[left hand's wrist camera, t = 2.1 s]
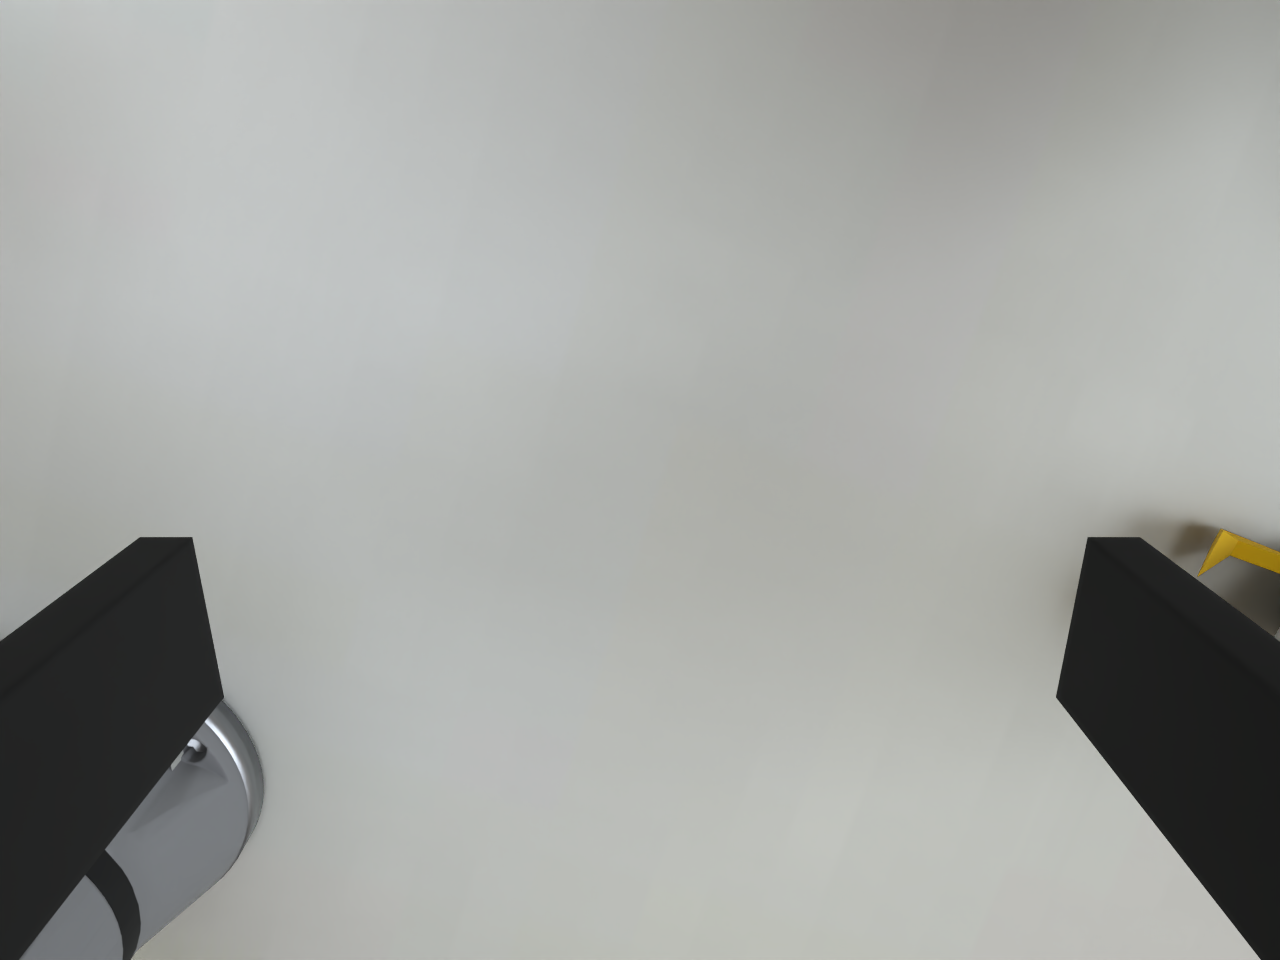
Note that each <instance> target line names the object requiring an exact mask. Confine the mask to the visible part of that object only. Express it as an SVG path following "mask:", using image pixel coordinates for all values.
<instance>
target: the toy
mask: <svg viewBox="0 0 1280 960" xmlns="http://www.w3.org/2000/svg"><path fill="white" fill-rule="evenodd" d="M1228 556H1233V557H1235V558H1238V559H1241V560H1244V561H1246V562H1249V563H1252V564H1255V565H1257V566H1260V567H1263V568H1266V569H1268V570H1271V571H1274V572H1276V573H1279V574H1280V552H1278V551H1276V550H1273V549H1271V548H1268V547H1266V546H1263V545H1261V544H1258V543H1256V542H1253V541H1251V540H1248V539H1246V538H1243V537H1241V536H1238V535H1236V534H1233V533H1231V532H1228V531H1226V530H1223V529H1220V531H1219V533H1218V534H1217V536H1216V538H1215V540H1214V541H1213V543H1212V545H1211V548H1210V550H1209V552H1208V554H1207V556H1206V559H1205V561H1204V563H1203V565H1202V567H1201V570H1200V572H1199V574H1198V576H1199V575H1201V574H1202V573H1204V572H1205V571H1207V570H1209V569H1210V568H1212V567H1213V566H1215V565H1216V564H1218V563H1219V562H1221V561H1222V560H1224V559H1225V558H1227V557H1228ZM1198 576H1197V577H1198ZM1274 638H1276V639H1277V640H1278V641H1280V627H1279V629H1278V631H1277V633H1276V635H1275V636H1274Z"/></svg>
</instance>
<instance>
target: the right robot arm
mask: <svg viewBox="0 0 1280 960" xmlns="http://www.w3.org/2000/svg"><path fill="white" fill-rule="evenodd" d="M262 802H263V776H262V769H261V766H260V762H259V758H258V755H257V753H256V750H255V747H254V745H253V743H252V741H251V739H250V737H249V735H248V733H247V732H246V730H245V729H244V727H243V726H242V724H241V722H240V721H239V720H238V719H237V717H236V716H235V715H234V713H233V712H232V711H231V710H230V709H229V708H228V707H227V705H226V704H225V703H224V702H223V701H222V700H221V702H220V703H219V704H218V706H217V707H216V708H215V709H214V711H213V712H212V713H211V714H210V716H209V717H208V718H207V720H206V721H205V722H204V723H203V725H202V726H201V727H200V729H199V730H198V731H197V732H196V734H195V735H194V736H193V738H192V739H191V740H190V741H189V743H188V744H187V745H186V746H185V748H184V749H183V750H182V752H181V753H180V754H179V755H178V757H177V758H176V759H175V761H174V762H173V763H172V764H171V766H170V767H169V768H168V770H167V771H166V772H165V773H164V775H163V776H162V777H161V778H160V780H159V781H158V782H157V784H156V785H155V786H154V787H153V789H152V790H151V791H150V793H149V794H148V795H147V796H146V798H145V799H144V800H143V802H142V803H141V804H140V805H139V807H138V808H137V809H136V811H135V812H134V813H133V814H132V816H131V817H130V818H129V819H128V821H127V822H126V823H125V825H124V826H123V827H122V828H121V830H120V831H119V832H118V834H117V835H116V836H115V837H114V839H113V840H112V841H111V843H110V844H109V845H108V846H107V848H106V849H105V850H104V851H103V853H102V854H101V855H100V857H99V858H98V859H97V860H96V862H95V863H94V864H93V866H92V867H91V868H90V869H89V871H88V872H87V873H86V875H85V876H84V877H83V878H82V880H81V881H80V882H79V884H78V885H77V886H76V887H75V889H74V890H73V891H72V892H71V894H70V895H69V896H68V898H67V899H66V900H65V901H64V903H63V904H62V905H61V907H60V908H59V909H58V910H57V912H56V913H55V914H54V916H53V917H52V918H51V919H50V921H49V922H48V923H47V924H46V926H45V927H44V928H43V930H42V931H41V932H40V933H39V935H38V936H37V937H36V939H35V940H34V941H33V942H32V944H31V945H30V946H29V948H28V949H27V950H26V951H25V953H24V954H23V955H22V957H21V958H20V959H19V960H131V958H132V957H133V955H134V954H135V952H136V951H137V950H138V949H139V948H140V947H142V946H143V945H144V944H145V943H146V942H147V941H149V940H150V939H151V938H152V937H153V936H154V935H156V934H157V933H158V932H159V931H160V930H161V929H163V928H164V927H165V926H166V925H167V924H169V923H170V922H171V921H172V920H173V919H174V918H176V917H177V916H178V915H179V914H180V913H181V912H183V911H184V910H185V909H186V908H187V907H189V906H190V905H191V904H192V903H193V902H194V901H196V900H197V899H198V898H199V897H200V896H201V895H202V894H204V893H205V892H206V891H207V890H208V889H210V888H211V887H212V886H213V885H214V884H215V883H216V882H218V881H219V880H220V879H221V878H222V877H223V876H224V875H225V874H226V873H227V872H228V871H229V870H230V868H231V867H232V866H233V864H234V863H235V861H236V860H237V858H238V857H239V855H240V853H241V851H242V850H243V848H244V846H245V844H246V843H247V841H248V839H249V837H250V836H251V834H252V832H253V830H254V828H255V826H256V824H257V821H258V818H259V816H260V812H261V808H262Z"/></svg>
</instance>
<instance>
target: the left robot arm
mask: <svg viewBox="0 0 1280 960" xmlns="http://www.w3.org/2000/svg"><path fill="white" fill-rule="evenodd" d="M223 698H224V695H223V690H222V685H221V680H220V675H219V669H218V664H217V659H216V654H215V649H214V644H213V639H212V634H211V629H210V624H209V619H208V614H207V609H206V604H205V599H204V594H203V589H202V584H201V579H200V574H199V569H198V564H197V559H196V554H195V549H194V544H193V539H192V537H140V538H138V539H137V540H136V541H134V542H133V543H132V544H130V545H129V546H128V547H126V548H125V549H124V550H122V551H121V552H120V553H118V554H117V555H116V556H114V557H113V558H112V559H110V560H109V561H108V562H106V563H105V564H104V565H102V566H101V567H99V568H98V569H97V570H95V571H94V572H93V573H91V574H90V575H89V576H87V577H86V578H85V579H83V580H82V581H81V582H79V583H78V584H77V585H75V586H74V587H73V588H71V589H70V590H69V591H67V592H66V593H65V594H63V595H62V596H61V597H59V598H58V599H57V600H55V601H54V602H53V603H51V604H50V605H49V606H47V607H46V608H45V609H43V610H42V611H40V612H39V613H38V614H36V615H35V616H34V617H32V618H31V619H30V620H28V621H27V622H26V623H24V624H23V625H22V626H20V627H19V628H18V629H16V630H15V631H14V632H12V633H11V634H10V635H8V636H7V637H6V638H4V639H3V640H2V641H0V960H19V959H20V958H21V957H22V955H23V954H24V953H25V951H26V950H27V949H28V948H29V946H30V945H31V944H32V942H33V941H34V940H35V939H36V937H37V936H38V935H39V933H40V932H41V931H42V930H43V928H44V927H45V926H46V924H47V923H48V922H49V921H50V919H51V918H52V917H53V916H54V914H55V913H56V912H57V910H58V909H59V908H60V907H61V905H62V904H63V903H64V901H65V900H66V899H67V898H68V896H69V895H70V894H71V892H72V891H73V890H74V889H75V887H76V886H77V885H78V884H79V882H80V881H81V880H82V878H83V877H84V876H85V875H86V873H87V872H88V871H89V869H90V868H91V867H92V866H93V864H94V863H95V862H96V860H97V859H98V858H99V857H100V855H101V854H102V853H103V851H104V850H105V849H106V848H107V846H108V845H109V844H110V843H111V841H112V840H113V839H114V837H115V836H116V835H117V834H118V832H119V831H120V830H121V828H122V827H123V826H124V825H125V823H126V822H127V821H128V819H129V818H130V817H131V816H132V814H133V813H134V812H135V811H136V809H137V808H138V807H139V805H140V804H141V803H142V802H143V800H144V799H145V798H146V796H147V795H148V794H149V793H150V791H151V790H152V789H153V787H154V786H155V785H156V784H157V782H158V781H159V780H160V778H161V777H162V776H163V775H164V773H165V772H166V771H167V770H168V768H169V767H170V766H171V764H172V763H173V762H174V761H175V759H176V758H177V757H178V755H179V754H180V753H181V752H182V750H183V749H184V748H185V746H186V745H187V744H188V743H189V741H190V740H191V739H192V738H193V736H194V735H195V734H196V732H197V731H198V730H199V729H200V727H201V726H202V725H203V723H204V722H205V721H206V720H207V718H208V717H209V716H210V714H211V713H212V712H213V711H214V709H215V708H216V707H217V706H218V704H219V703H220V702H221V700H222V699H223ZM1056 698H1057V699H1058V700H1059V702H1060V703H1061V704H1062V706H1063V707H1064V708H1065V709H1066V711H1067V712H1068V713H1069V714H1070V716H1071V717H1072V718H1073V720H1074V721H1075V722H1076V723H1077V725H1078V726H1079V727H1080V729H1081V730H1082V731H1083V732H1084V734H1085V735H1086V736H1087V738H1088V739H1089V740H1090V741H1091V743H1092V744H1093V745H1094V746H1095V748H1096V749H1097V750H1098V752H1099V753H1100V754H1101V755H1102V757H1103V758H1104V759H1105V761H1106V762H1107V763H1108V764H1109V766H1110V767H1111V768H1112V770H1113V771H1114V772H1115V773H1116V775H1117V776H1118V777H1119V779H1120V780H1121V781H1122V782H1123V784H1124V785H1125V786H1126V787H1127V789H1128V790H1129V791H1130V793H1131V794H1132V795H1133V796H1134V798H1135V799H1136V800H1137V802H1138V803H1139V804H1140V805H1141V807H1142V808H1143V809H1144V811H1145V812H1146V813H1147V814H1148V816H1149V817H1150V818H1151V819H1152V821H1153V822H1154V823H1155V825H1156V826H1157V827H1158V828H1159V830H1160V831H1161V832H1162V834H1163V835H1164V836H1165V837H1166V839H1167V840H1168V841H1169V843H1170V844H1171V845H1172V846H1173V848H1174V849H1175V850H1176V852H1177V853H1178V854H1179V855H1180V857H1181V858H1182V859H1183V860H1184V862H1185V863H1186V864H1187V866H1188V867H1189V868H1190V869H1191V871H1192V872H1193V873H1194V875H1195V876H1196V877H1197V878H1198V880H1199V881H1200V882H1201V884H1202V885H1203V886H1204V887H1205V889H1206V890H1207V891H1208V892H1209V894H1210V895H1211V896H1212V898H1213V899H1214V900H1215V901H1216V903H1217V904H1218V905H1219V907H1220V908H1221V909H1222V910H1223V912H1224V913H1225V914H1226V916H1227V917H1228V918H1229V919H1230V921H1231V922H1232V923H1233V925H1234V926H1235V927H1236V928H1237V930H1238V931H1239V932H1240V933H1241V935H1242V936H1243V937H1244V939H1245V940H1246V941H1247V942H1248V944H1249V945H1250V946H1251V948H1252V949H1253V950H1254V951H1255V953H1256V954H1257V955H1258V957H1259V958H1260V959H1261V960H1280V641H1278V640H1277V639H1276V638H1274V637H1273V636H1272V635H1270V634H1269V633H1268V632H1266V631H1265V630H1264V629H1262V628H1261V627H1260V626H1258V625H1257V624H1256V623H1254V622H1253V621H1252V620H1250V619H1249V618H1248V617H1246V616H1245V615H1244V614H1242V613H1241V612H1240V611H1238V610H1237V609H1235V608H1234V607H1233V606H1231V605H1230V604H1229V603H1227V602H1226V601H1225V600H1223V599H1222V598H1221V597H1219V596H1218V595H1217V594H1215V593H1214V592H1213V591H1211V590H1210V589H1209V588H1207V587H1206V586H1205V585H1203V584H1202V583H1201V582H1199V581H1198V580H1197V579H1195V578H1194V577H1193V576H1191V575H1190V574H1189V573H1187V572H1186V571H1185V570H1183V569H1182V568H1181V567H1179V566H1178V565H1176V564H1175V563H1174V562H1172V561H1171V560H1170V559H1168V558H1167V557H1166V556H1164V555H1163V554H1162V553H1160V552H1159V551H1158V550H1156V549H1155V548H1154V547H1152V546H1151V545H1150V544H1148V543H1147V542H1146V541H1144V540H1143V539H1142V538H1140V537H1088V539H1087V544H1086V549H1085V554H1084V559H1083V564H1082V569H1081V574H1080V579H1079V584H1078V589H1077V594H1076V599H1075V604H1074V609H1073V614H1072V619H1071V624H1070V629H1069V634H1068V639H1067V644H1066V649H1065V654H1064V659H1063V664H1062V669H1061V674H1060V680H1059V685H1058V690H1057V695H1056Z"/></svg>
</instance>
